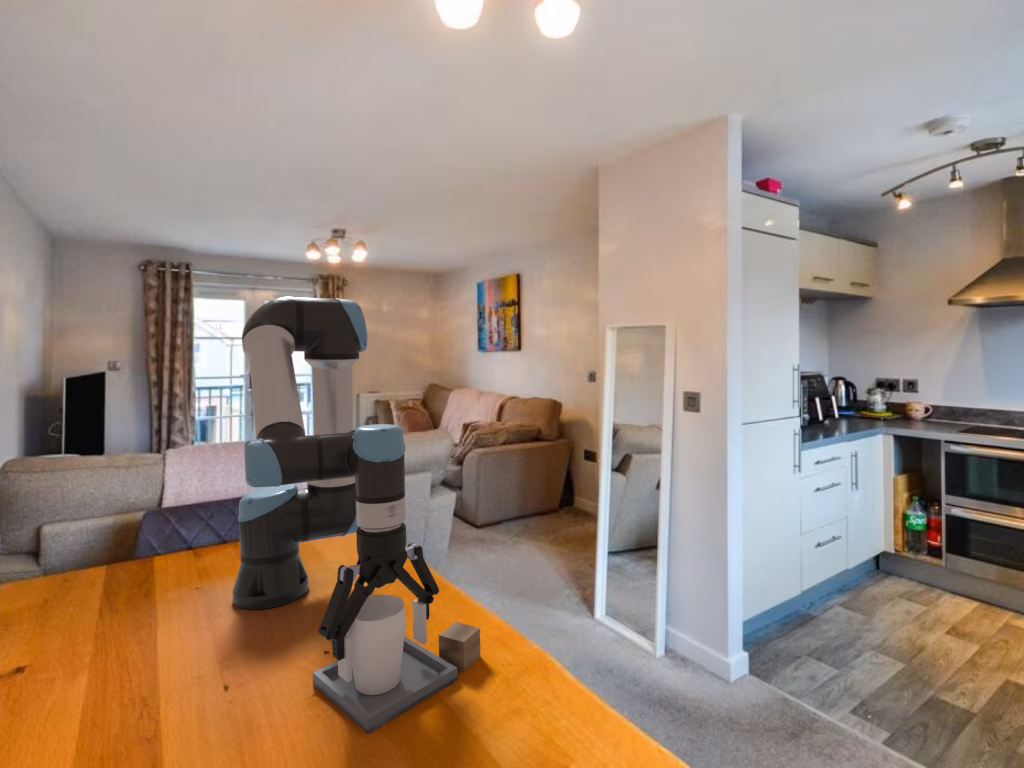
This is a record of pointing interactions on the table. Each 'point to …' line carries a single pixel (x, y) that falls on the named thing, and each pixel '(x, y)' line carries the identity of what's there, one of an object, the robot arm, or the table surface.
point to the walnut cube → (460, 645)
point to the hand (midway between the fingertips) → (384, 658)
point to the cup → (378, 644)
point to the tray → (415, 685)
